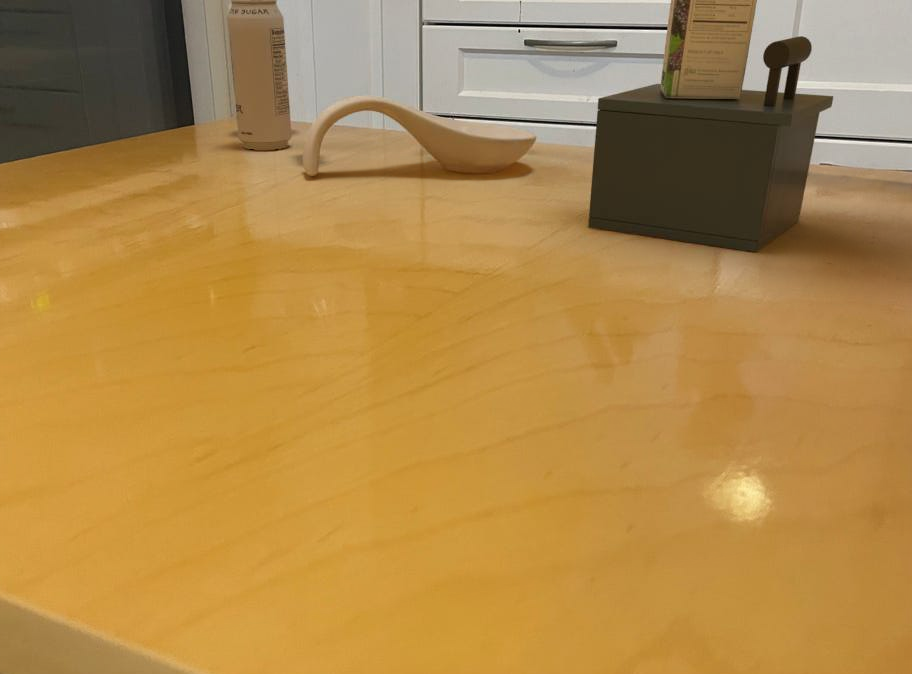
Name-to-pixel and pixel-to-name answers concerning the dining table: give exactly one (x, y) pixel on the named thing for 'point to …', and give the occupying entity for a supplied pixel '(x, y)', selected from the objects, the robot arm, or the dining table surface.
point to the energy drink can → (259, 74)
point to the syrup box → (707, 48)
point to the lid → (751, 104)
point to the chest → (699, 178)
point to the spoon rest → (430, 136)
